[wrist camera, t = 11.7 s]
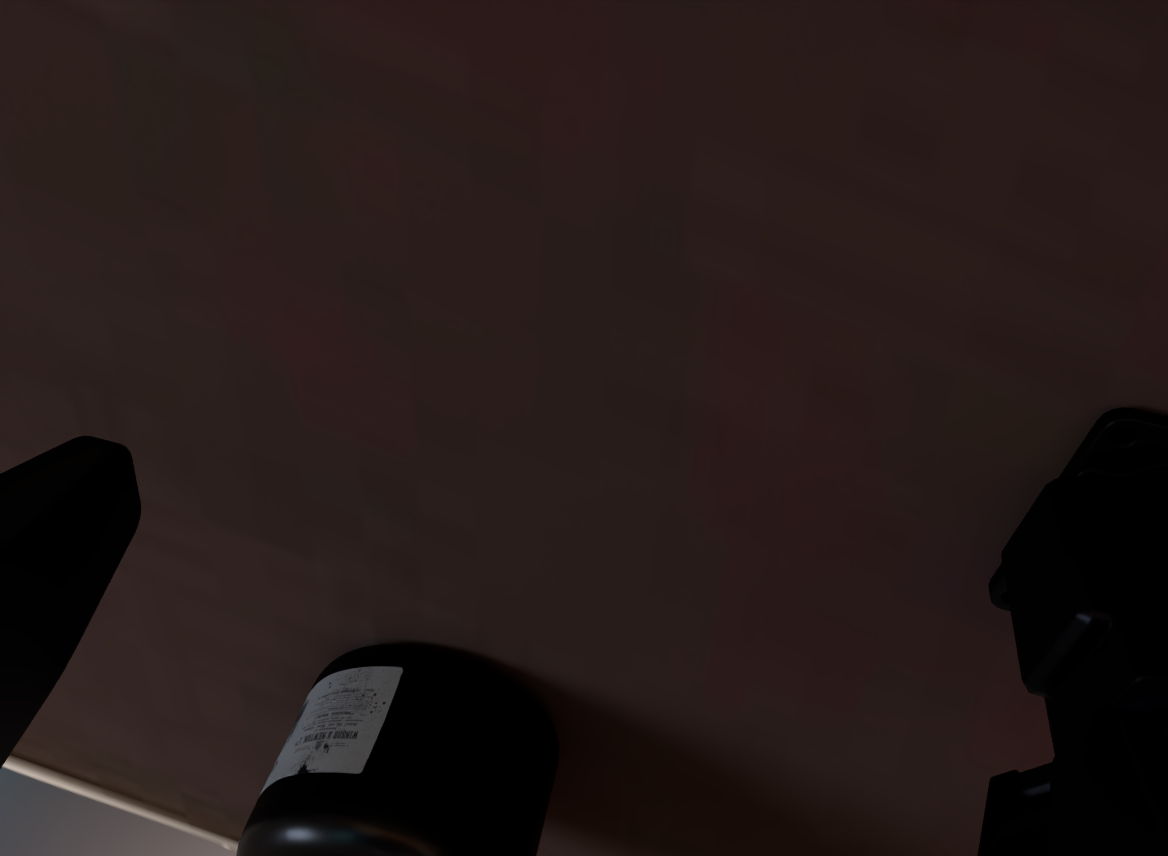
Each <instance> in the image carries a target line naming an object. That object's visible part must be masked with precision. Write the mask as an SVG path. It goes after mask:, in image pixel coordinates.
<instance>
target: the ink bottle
mask: <svg viewBox="0 0 1168 856" xmlns="http://www.w3.org/2000/svg"><path fill="white" fill-rule="evenodd" d="M558 761H559V744H558V739H557V735H556V732H555V729H554V727H553V724H552V722H551V721H550V719H549V717H548V716H547V714H546V713H545V711H544V710H543V709H542V708H541V707H540V705H539V704H538V703H537V702H536V701H535V700H534V699H533V698H531V697H530V696H529V695H528V694H527V693H526V692H524V691H523V690H522V689H520V688H519V687H517V686H516V685H514V684H513V683H511V682H510V681H508V680H507V679H505V678H503V677H501V676H499V675H498V674H496V673H494V672H492V671H490V670H488V669H486V668H484V667H481V666H479V665H477V664H474V663H472V662H469V661H467V660H464V659H461V658H458V657H455V656H452V655H449V654H445V653H442V652H438V651H434V650H430V649H425V648H420V647H413V646H406V645H373V646H367V647H362V648H358V649H355V650H352V651H350V652H348V653H345V654H343V655H342V656H340V657H338V658H337V659H335V660H334V661H333V662H331V663H330V664H329V665H328V666H327V667H326V668H325V669H324V670H323V671H322V672H321V674H320V675H319V677H318V678H317V680H316V681H315V683H314V685H313V687H312V689H311V691H310V693H309V695H308V697H307V699H306V701H305V703H304V705H303V707H302V709H301V711H300V713H299V715H298V717H297V719H296V721H295V724H294V726H293V728H292V730H291V732H290V734H289V736H288V738H287V740H286V742H285V744H284V746H283V748H282V750H281V753H280V755H279V757H278V759H277V761H276V763H275V765H274V767H273V769H272V771H271V773H270V775H269V777H268V779H267V782H266V784H265V786H264V788H263V790H262V792H261V794H260V796H259V798H258V800H257V803H256V805H255V807H254V809H253V811H252V813H251V815H250V817H249V819H248V821H247V824H246V826H245V828H244V830H243V833H242V835H241V838H240V841H239V845H238V849H237V856H536V855H537V850H538V846H539V842H540V838H541V834H542V830H543V826H544V822H545V817H546V813H547V809H548V805H549V801H550V797H551V793H552V788H553V784H554V780H555V776H556V772H557V767H558Z"/></svg>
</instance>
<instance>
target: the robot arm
mask: <svg viewBox="0 0 1168 856" xmlns="http://www.w3.org/2000/svg"><path fill="white" fill-rule="evenodd" d="M1122 428H1131V430H1130V431H1128V432H1127V433H1124V434H1121V435H1120V434H1113V433H1114V432H1115V431H1116V430H1119V429H1122ZM140 516H141V502H140V497H139V491H138V486H137V481H136V476H135V470H134V465H133V460H132V456H131V453H130V451H129V450H128V449H127V448H126V446H124V445H122V444H119V443H115V442H111V441H108V440H104V439H100V438H96V437H92V436H81V437H77V438H74V439H71V440H69V441H67V442H65V443H63V444H61V445H59V446H57V447H55V448H53V449H51V450H49V451H47V452H45V453H42V454H40V455H38V456H36V457H34V458H32V459H30V460H28V461H26V462H24V463H22V464H20V465H18V466H15V467H13V468H11V469H9V470H7V471H5V472H3V473H1V474H0V769H1V767H2V766H3V764H4V763H5V761H6V759H7V758H8V756H9V755H10V753H11V752H12V750H13V749H14V747H15V746H16V744H17V743H18V741H19V740H20V738H21V737H22V735H23V734H24V732H25V731H26V729H27V728H28V726H29V724H30V723H31V721H32V720H33V718H34V717H35V715H36V714H37V712H38V711H39V709H40V708H41V706H42V705H43V703H44V702H45V700H46V699H47V697H48V696H49V694H50V692H51V691H52V689H53V688H54V686H55V684H56V683H57V681H58V680H59V678H60V676H61V675H62V673H63V672H64V670H65V668H66V666H67V664H68V663H69V661H70V659H71V657H72V655H73V653H74V652H75V650H76V648H77V646H78V644H79V642H80V640H81V638H82V636H83V634H84V632H85V630H86V628H87V626H88V624H89V622H90V620H91V618H92V616H93V614H94V612H95V611H96V609H97V607H98V605H99V603H100V601H101V599H102V597H103V595H104V593H105V591H106V589H107V587H108V585H109V583H110V581H111V579H112V577H113V575H114V573H115V571H116V569H117V567H118V565H119V563H120V561H121V559H122V557H123V555H124V553H125V551H126V549H127V547H128V545H129V544H130V542H131V540H132V538H133V536H134V534H135V532H136V529H137V527H138V524H139V520H140ZM988 586H989V593H990V598H991V602H992V603H993V604H994V605H995V606H996V607H998V608H1001V609H1003V610H1007V611H1011V616H1012V622H1013V628H1014V634H1015V641H1016V647H1017V653H1018V659H1019V665H1020V671H1021V677H1022V681H1023V683H1024V685H1025V686H1026V688H1027V690H1028V692H1029V693H1031V694H1035V695H1039V696H1042V697H1044V698H1045V704H1046V709H1047V715H1048V720H1049V726H1050V731H1051V737H1052V742H1053V748H1054V753H1055V756H1054V759H1053V762H1051V763H1048V764H1045V765H1042V766H1039V767H1036V768H1033V769H1030V770H1027V771H1024V772H1021V773H1020V772H1018V771H1017V770H1012V771H1009V772H1006V773H1003V774H1000V775H997V776H994V777H991V778H990V782H989V788H988V794H987V800H986V807H985V813H984V819H983V825H982V831H981V838H980V844H979V850H978V856H1168V417H1165V416H1161V415H1157V414H1153V413H1149V412H1145V411H1141V410H1137V409H1133V408H1123V407H1122V408H1117V409H1112V410H1110V411H1108V412H1106V413H1104V414H1103V415H1102V416H1101V417H1100V418H1099V419H1098V420H1097V421H1096V423H1095V424H1094V426H1093V427H1092V429H1091V430H1090V432H1089V433H1088V435H1087V436H1086V438H1085V439H1084V441H1083V442H1082V444H1081V445H1080V447H1079V448H1078V450H1077V451H1076V453H1075V454H1074V456H1073V457H1072V459H1071V460H1070V462H1069V463H1068V465H1067V466H1066V468H1065V469H1064V471H1063V472H1062V474H1061V475H1060V477H1059V478H1058V479H1055V480H1053V481H1052V482H1050V483H1048V484H1047V485H1046V486H1045V487H1044V489H1043V490H1042V492H1041V493H1040V495H1039V496H1038V498H1037V499H1036V501H1035V502H1034V504H1033V505H1032V507H1031V508H1030V510H1029V511H1028V513H1027V514H1026V516H1025V517H1024V519H1023V520H1022V522H1021V523H1020V525H1019V526H1018V528H1017V529H1016V531H1015V532H1014V534H1013V535H1012V537H1011V538H1010V540H1009V541H1008V543H1007V545H1006V546H1005V548H1004V549H1003V551H1002V563H1001V565H1000V566H999V568H998V569H997V571H996V572H995V574H994V575H993V577H992V578H991V580H990V582H989V585H988ZM1005 591H1007V592H1005Z"/></svg>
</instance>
